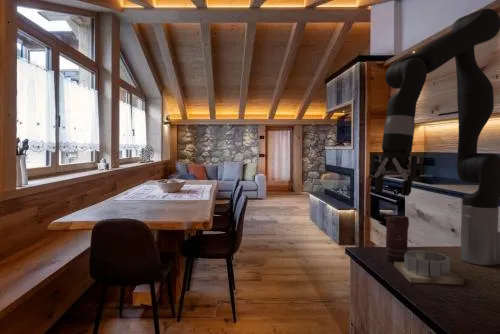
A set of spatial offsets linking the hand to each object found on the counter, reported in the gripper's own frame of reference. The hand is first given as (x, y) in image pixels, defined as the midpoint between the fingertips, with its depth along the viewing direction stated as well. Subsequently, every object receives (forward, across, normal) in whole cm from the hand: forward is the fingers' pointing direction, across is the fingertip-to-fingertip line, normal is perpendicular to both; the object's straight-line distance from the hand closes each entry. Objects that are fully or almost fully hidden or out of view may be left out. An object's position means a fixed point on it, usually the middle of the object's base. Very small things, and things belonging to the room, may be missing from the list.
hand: (391, 193), depth 92 cm
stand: (+21, -5, -12) cm, 25 cm away
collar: (+20, -5, -12) cm, 24 cm away
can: (+21, +8, -16) cm, 27 cm away
